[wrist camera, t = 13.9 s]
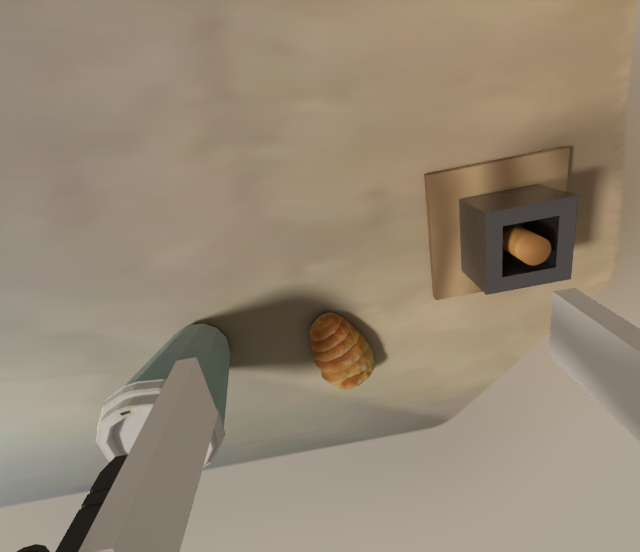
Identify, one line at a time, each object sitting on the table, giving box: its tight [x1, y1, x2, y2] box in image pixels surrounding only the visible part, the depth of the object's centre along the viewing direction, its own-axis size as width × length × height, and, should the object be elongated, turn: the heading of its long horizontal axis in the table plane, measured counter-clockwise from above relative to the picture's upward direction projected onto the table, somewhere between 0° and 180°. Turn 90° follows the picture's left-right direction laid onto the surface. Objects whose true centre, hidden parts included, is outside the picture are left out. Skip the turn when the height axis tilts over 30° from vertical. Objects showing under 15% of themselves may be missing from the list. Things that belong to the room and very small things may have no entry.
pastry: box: [309, 313, 375, 390], centre depth 44 cm, size 9×7×4 cm
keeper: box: [424, 147, 570, 300], centre depth 37 cm, size 14×14×8 cm
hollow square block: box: [459, 184, 578, 295], centre depth 37 cm, size 8×8×6 cm
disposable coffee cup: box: [96, 324, 231, 468], centre depth 38 cm, size 11×11×15 cm
